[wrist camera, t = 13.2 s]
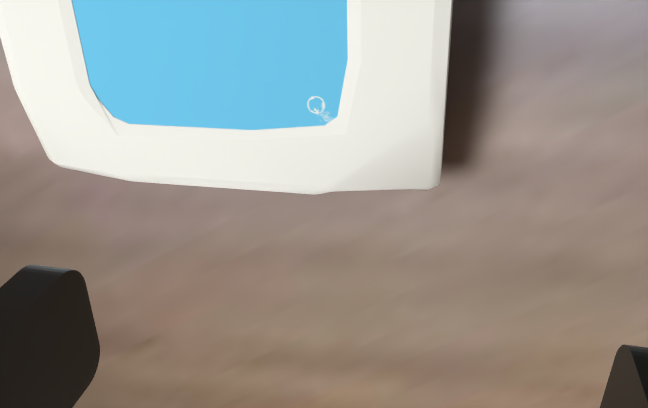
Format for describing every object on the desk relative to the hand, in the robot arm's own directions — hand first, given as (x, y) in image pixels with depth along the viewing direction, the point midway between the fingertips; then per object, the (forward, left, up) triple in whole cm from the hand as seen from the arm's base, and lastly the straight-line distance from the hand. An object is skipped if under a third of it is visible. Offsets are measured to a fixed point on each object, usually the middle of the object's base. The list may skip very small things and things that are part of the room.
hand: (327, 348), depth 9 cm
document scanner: (+13, +2, -34) cm, 36 cm away
